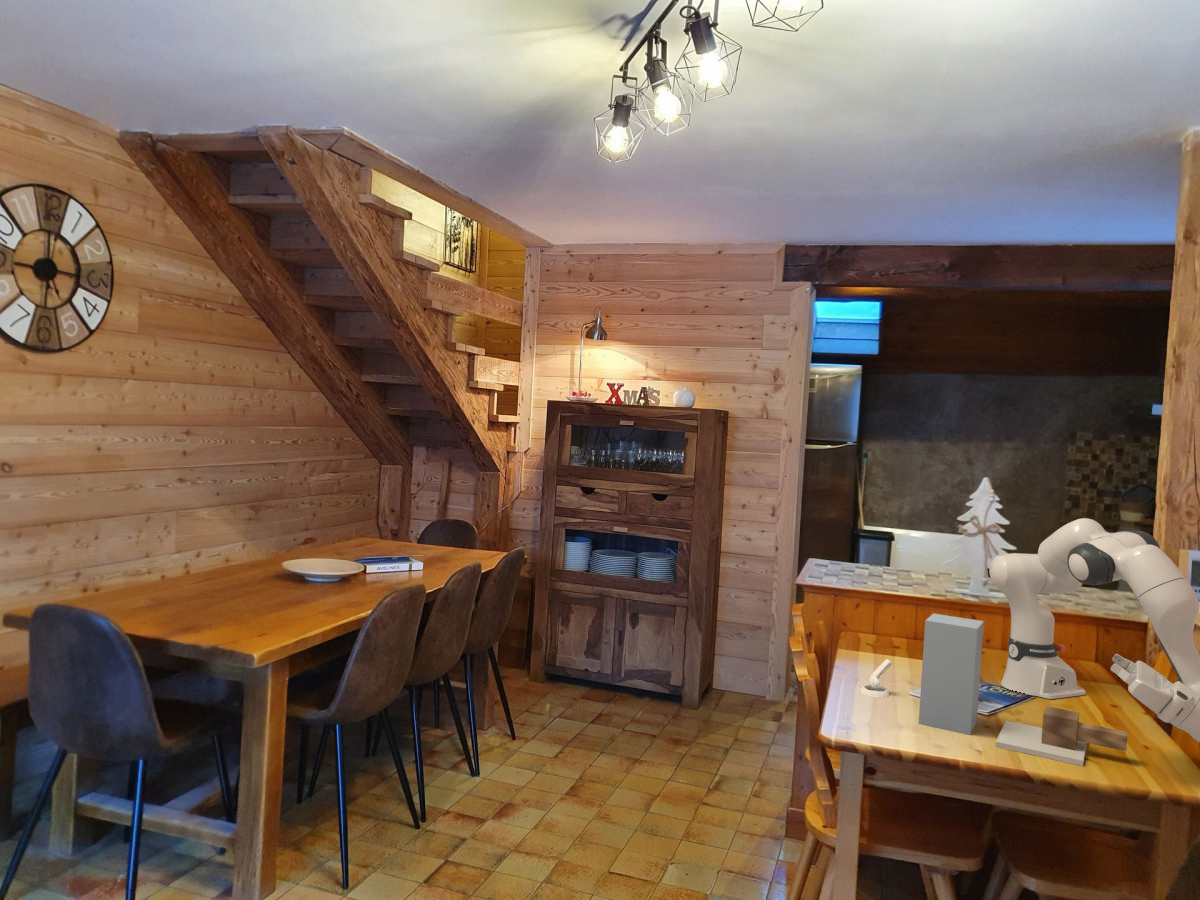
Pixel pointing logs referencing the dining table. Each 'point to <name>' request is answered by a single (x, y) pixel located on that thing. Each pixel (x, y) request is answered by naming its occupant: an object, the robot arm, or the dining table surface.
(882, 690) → the hook
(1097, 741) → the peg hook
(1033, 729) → the felt pad
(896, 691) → the dining table surface
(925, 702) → the post
